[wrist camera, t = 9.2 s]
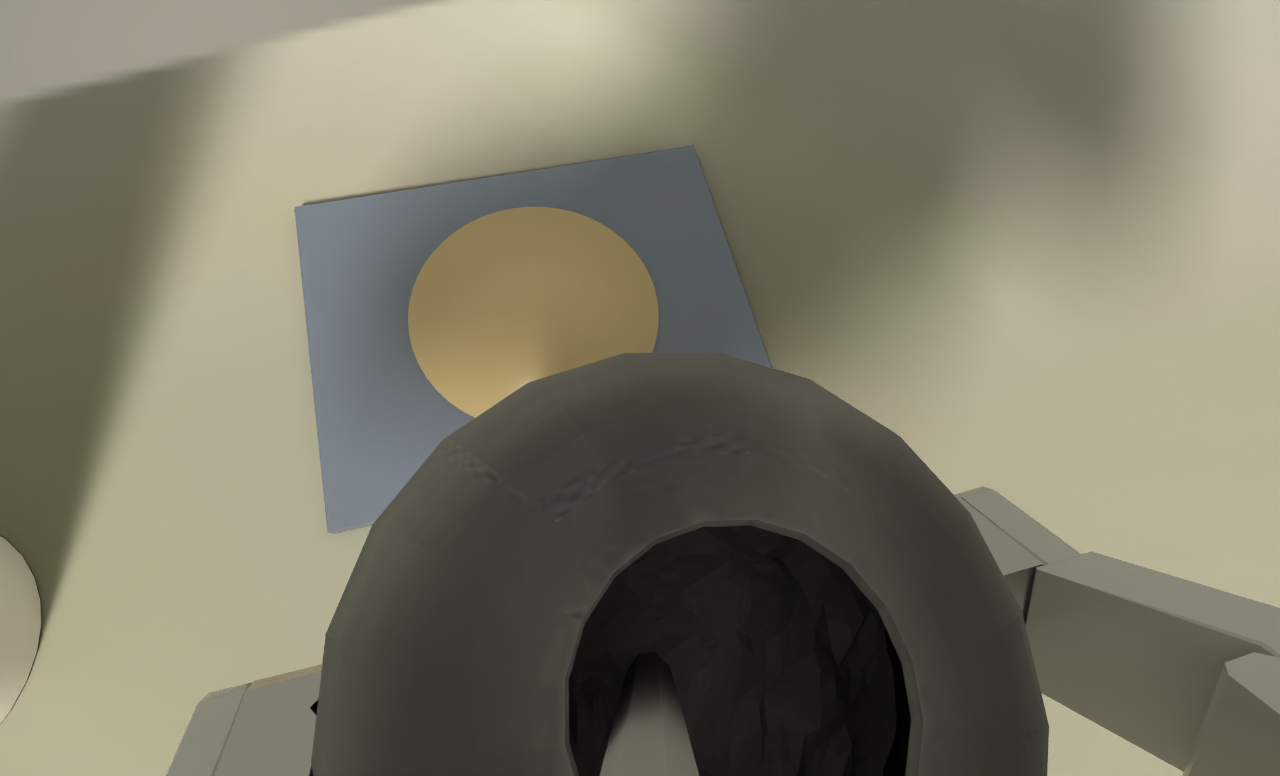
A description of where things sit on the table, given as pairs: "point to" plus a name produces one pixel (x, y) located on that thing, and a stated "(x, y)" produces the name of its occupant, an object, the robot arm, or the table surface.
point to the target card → (499, 302)
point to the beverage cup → (677, 595)
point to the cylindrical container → (16, 624)
